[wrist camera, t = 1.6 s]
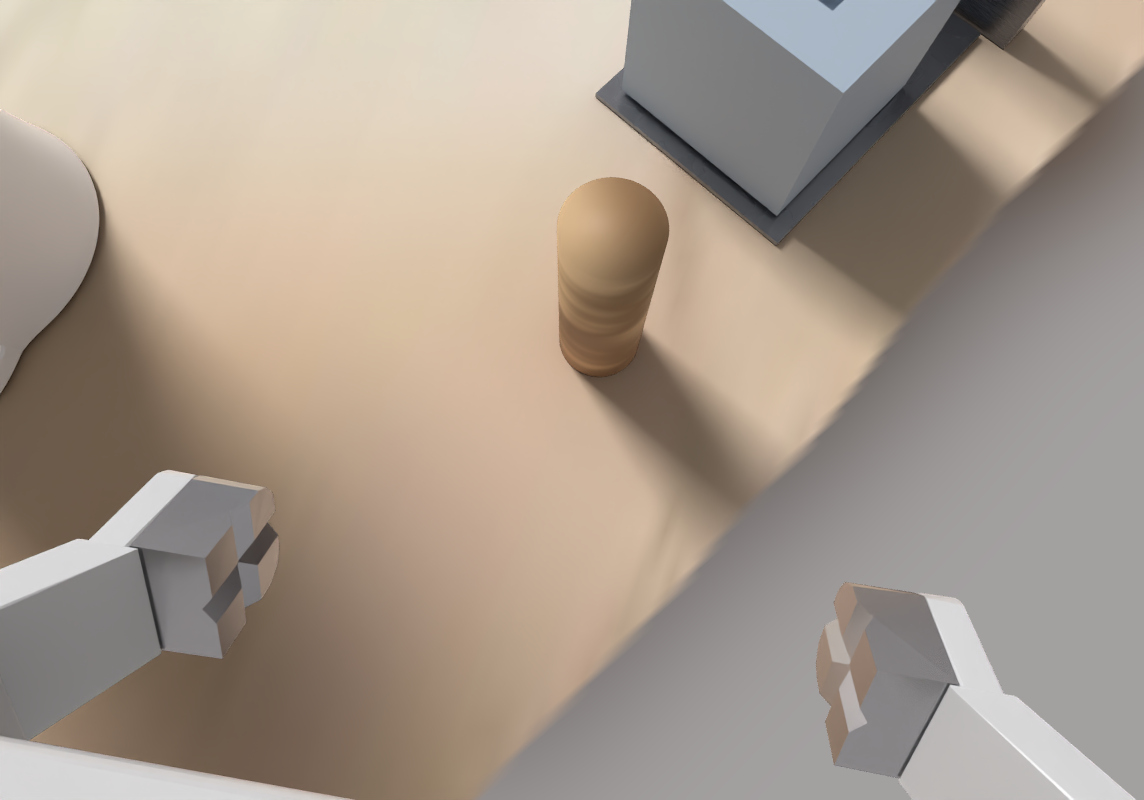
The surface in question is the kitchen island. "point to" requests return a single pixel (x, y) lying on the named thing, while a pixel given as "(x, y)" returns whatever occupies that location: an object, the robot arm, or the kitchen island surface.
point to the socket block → (774, 78)
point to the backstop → (987, 6)
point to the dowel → (607, 271)
